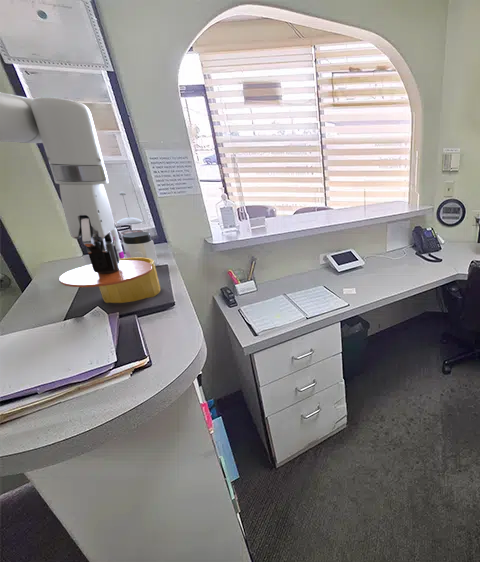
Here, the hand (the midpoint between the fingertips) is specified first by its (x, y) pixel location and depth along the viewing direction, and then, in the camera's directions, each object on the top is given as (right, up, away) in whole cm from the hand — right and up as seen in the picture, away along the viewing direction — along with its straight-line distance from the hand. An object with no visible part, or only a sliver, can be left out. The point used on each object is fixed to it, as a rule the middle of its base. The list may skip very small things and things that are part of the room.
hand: (107, 266), depth 64 cm
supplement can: (-40, +2, +49) cm, 63 cm away
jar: (-30, +3, +50) cm, 59 cm away
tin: (-16, -7, +28) cm, 33 cm away
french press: (-42, +7, +61) cm, 75 cm away
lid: (0, -1, +1) cm, 1 cm away
